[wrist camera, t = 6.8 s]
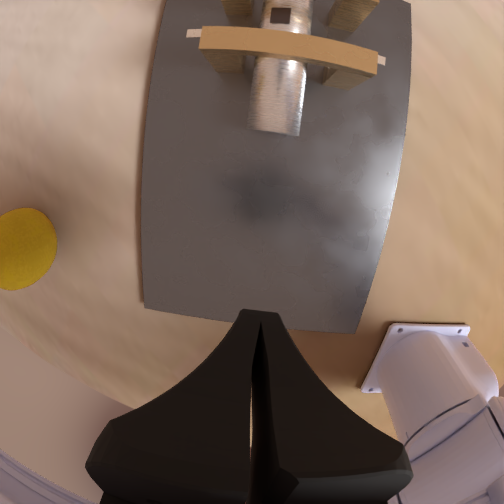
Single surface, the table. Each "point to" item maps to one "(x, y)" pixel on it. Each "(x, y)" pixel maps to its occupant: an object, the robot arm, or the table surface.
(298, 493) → the robot arm
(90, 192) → the table surface
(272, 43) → the plate
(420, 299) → the table surface
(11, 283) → the lemon
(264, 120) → the tube
